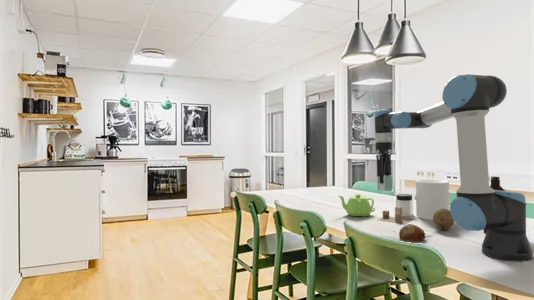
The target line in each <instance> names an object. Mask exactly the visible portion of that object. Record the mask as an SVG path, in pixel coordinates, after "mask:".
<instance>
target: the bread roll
mask: <svg viewBox="0 0 534 300" xmlns="http://www.w3.org/2000/svg"><path fill="white" fill-rule="evenodd" d="M398 235H399V239H400V240H402V241H405V242H413V243H414V242H423V241H424V240H425V239H426V238H427V236H426V232H425V230H423V229H422V228H421V227H420V226H418V225H415V224H413V223H407V224H404V226H402V227H401V228H400V229H399V232H398Z"/></svg>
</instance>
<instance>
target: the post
mask: <svg viewBox="0 0 534 300" xmlns="http://www.w3.org/2000/svg"><path fill="white" fill-rule="evenodd" d="M394 217H395V221H402V218H403V216H402V207H398V206H396V205H395V207H394Z"/></svg>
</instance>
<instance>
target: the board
mask: <svg viewBox="0 0 534 300" xmlns="http://www.w3.org/2000/svg"><path fill="white" fill-rule="evenodd" d="M413 220H414V218H406V217H402V221H395V216H389V218H383V216H382V217H381V218H379V219H377V221H380V222H387V223H395V224H397V223H398V224H404V225H408V224H410V222H412V221H413Z"/></svg>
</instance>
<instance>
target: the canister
mask: <svg viewBox="0 0 534 300" xmlns="http://www.w3.org/2000/svg"><path fill="white" fill-rule="evenodd" d="M415 205H416V206H415V207H416V208H415V211H416V212H415V214H416V217H417V218H419V219H423V220H430V221H433V216H434V213H435V212H436V211H437V210H439V209H448V210H450V181H449V180H444V179H416V180H415Z"/></svg>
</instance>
